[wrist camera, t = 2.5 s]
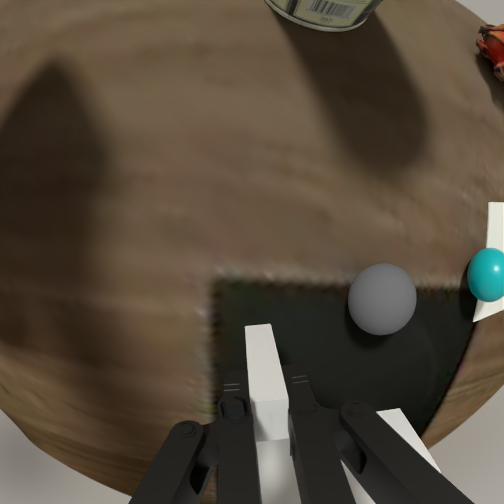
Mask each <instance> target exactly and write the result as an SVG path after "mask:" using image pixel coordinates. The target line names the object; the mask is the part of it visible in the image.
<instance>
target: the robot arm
mask: <svg viewBox="0 0 504 504" xmlns="http://www.w3.org/2000/svg"><path fill="white" fill-rule="evenodd" d="M245 334H246V349H247V364H248V370H237V371H228V373H227V374H226V376H225V377H224V396H223V398H221V399H220V400H219V402H218V404H217V407H218V412H219V416H220V417H219V418H218V419H217V420H216V421H214V422H212V423H209V424H205V425H200V424H199V423H198V422H195V421H182V422H179V423H178V424H176V425H175V426H174V427H173V428H172V430H171V431H170V433H169V435H168V437H167V438H166V440H165V442H164V444H163V445H162V447H161V449H160V451H159V452H158V454H157V456H156V457H155V459H154V461H153V463H152V464H151V466H150V468H149V470H148V471H147V473H146V475H145V476H144V478H143V480H142V481H141V483H140V485H139V487H138V488H137V490H136V492H135V493H134V495H133V497H132V498H131V500H130V502H129V504H200V502H201V499H202V497H203V494H204V492H205V489H206V487H207V484H208V481H209V479H210V476H211V474H212V471H213V468H214V466H215V465H218V491H217V504H262V497H261V487H260V477H259V467H258V456H257V447H256V442H262V441H271V440H280V439H287V438H290V456H292V460H293V465H294V470H295V475H296V480H297V485H298V490H299V495H300V500H301V504H356V502H355V499H354V496H353V493H352V490H351V487H350V485H349V482H348V479H347V476H346V473H345V471H344V468H343V465H342V462H343V463H344V464H345V466H346V467H347V468H348V469H349V471H350V472H351V473H352V475H353V476H354V477H355V479H356V480H357V481H358V482H359V484H360V485H361V486H362V487H363V489H364V490H365V491H366V492H367V494H368V495H369V496H370V497H371V499H372V500H373V501H374V502H375V504H474V503H473V502H472V501H471V500H470V499H468V498H467V497H466V496H465V495H464V494H463V493H462V492H461V491H460V490H458V489H457V488H456V487H455V486H454V485H453V484H452V483H451V482H450V481H448V480H447V479H446V478H445V477H444V476H443V475H442V474H441V473H440V472H439V471H438V470H436V469H435V468H434V467H433V466H432V465H431V464H430V463H429V462H428V461H427V460H426V459H425V458H424V457H422V456H421V455H420V454H419V453H418V452H417V451H416V450H415V449H414V448H413V447H412V446H411V445H410V444H409V443H408V442H407V441H406V440H404V439H403V438H402V437H401V436H400V435H399V434H398V433H397V432H396V431H395V430H394V429H393V428H392V427H391V426H390V425H389V424H388V423H387V422H386V421H385V420H384V419H383V418H382V417H381V416H380V415H379V414H378V413H377V412H376V411H375V410H373V409H372V408H371V407H370V406H369V405H368V404H366V403H365V402H361V401H352V402H348V403H347V404H345V405H344V406H343V407H342V409H328V408H325V407H322V406H320V404H319V403H317V402H316V400H315V398H314V395H313V392H312V389H311V387H310V384H309V381H308V378H307V376H306V373H305V370H304V368H303V367H302V366H301V365H299V364H298V363H296V364H289V365H280V361H279V357H278V353H277V349H276V345H275V340H274V336H273V332H272V328H271V324H264V325H254V326H245ZM341 460H342V462H341Z"/></svg>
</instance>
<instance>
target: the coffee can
mask: <svg viewBox="0 0 504 504" xmlns="http://www.w3.org/2000/svg"><path fill="white" fill-rule="evenodd" d="M265 1H266V3H267V4H269V5H270V6H271V7H272V8H273V9H274V10H275V11H276V12H278V13H279V14H280V15H282V16H283V17H285V18H287V19H289V20H291V21H293V22H295V23H297V24H299V25H302V26H305V27H309V28H312V29H316V30H322V31H330V32H340V31H348V30H351V29H355V28H357V27H358V26H360V25H361V24H363V23H364V22H365V20H366V19H367V17H368V16H369V15H370V14H371V13H372V11H373V10H374V9H375V8H376V7H377V6H378V5H379V4H380V3H381V2H382V1H383V0H265Z"/></svg>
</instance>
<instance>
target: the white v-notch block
mask: <svg viewBox="0 0 504 504" xmlns="http://www.w3.org/2000/svg"><path fill="white" fill-rule="evenodd" d="M377 413H378V414H379V415H380V416H381V417H382V418H383V419H384V420H385V421H386V422H387V423H388V424H389V425H390V426H391V427H392V428H393V429H394V430H395V431H396V432H397V433H398V434H399V435H400V436H401V437H402V438H403V439H404V440H406V441H407V442H408V443H409V444H410V445H411V446H412V447H413V448H414V449H415V450H416V451H417V452H418V453H419V454H420V455H421V456H422V457H424V458H425V459H426V460H427V461H428V462H429V463H430V464H431V465H432V466H433V467H434V468H435V469H436V470H438V471H439V472H440V473H441V471H440V470H439V468H438V466H437V465H436V463H435V462H434V460H433V459H432V457H431V455H430V454H429V452H428V451H427V449H426V448H425V446H424V444H423V443H422V441H421V440H420V438H419V437H418V435H417V434H416V432H415V431H414V429H413V428H412V426H411V425H410V423H409V422H408V420H407V419H406V417H405V416H404V414H403V413H402V411H401V410H400V408H399V409H393V410H386V411H379V412H377ZM256 447H257V456H258V467H259V477H260V487H261V497H262V504H301V500H300V495H299V490H298V485H297V480H296V475H295V470H294V465H293V460H292V456H290V438H287V439H280V440H271V441H262V442H256ZM341 462H342V460H341ZM342 465H343V468H344V471H345V473H346V476H347V479H348V482H349V485H350V487H351V490H352V493H353V496H354V499H355V502H356V504H375V502H374V501H373V500H372V499H371V497H370V496H369V495H368V494H367V492H366V491H365V490H364V489H363V487H362V486H361V485H360V484H359V482H358V481H357V480H356V479H355V477H354V476H353V475H352V473H351V472H350V471H349V469H348V468H347V467H346V466H345V464H344V463H343V462H342Z"/></svg>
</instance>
